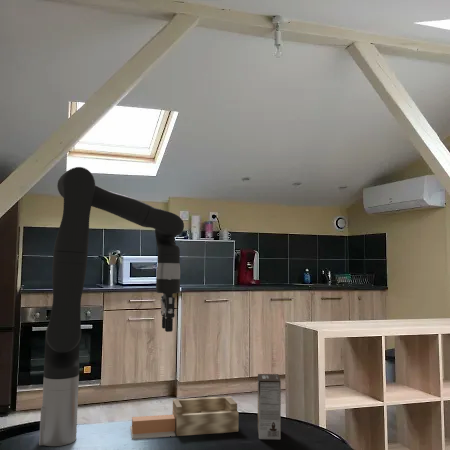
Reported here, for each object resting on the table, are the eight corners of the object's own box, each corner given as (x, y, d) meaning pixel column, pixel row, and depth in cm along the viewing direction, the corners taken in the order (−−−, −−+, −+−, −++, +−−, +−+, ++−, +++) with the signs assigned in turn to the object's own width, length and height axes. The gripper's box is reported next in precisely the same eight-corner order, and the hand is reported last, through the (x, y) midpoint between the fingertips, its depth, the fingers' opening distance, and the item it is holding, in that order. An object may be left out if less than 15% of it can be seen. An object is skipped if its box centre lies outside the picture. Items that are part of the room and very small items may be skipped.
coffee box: (257, 428, 139) (257, 373, 141) (278, 429, 139) (278, 373, 140) (258, 439, 130) (258, 380, 131) (281, 439, 130) (281, 380, 131)
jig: (177, 436, 132) (177, 408, 133) (172, 425, 141) (172, 399, 142) (238, 431, 136) (238, 404, 137) (229, 421, 146) (229, 396, 147)
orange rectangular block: (132, 434, 132) (132, 421, 132) (131, 429, 136) (132, 417, 136) (174, 431, 135) (175, 418, 135) (172, 426, 139) (173, 414, 139)
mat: (132, 439, 129) (132, 437, 129) (130, 427, 138) (130, 426, 138) (175, 436, 132) (175, 434, 132) (170, 425, 141) (170, 423, 141)
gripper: (154, 277, 154) (152, 327, 152) (158, 277, 140) (157, 332, 138) (176, 277, 155) (175, 327, 154) (183, 278, 142) (182, 332, 140)
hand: (167, 329), depth 146 cm, fingers open, 8 cm apart
